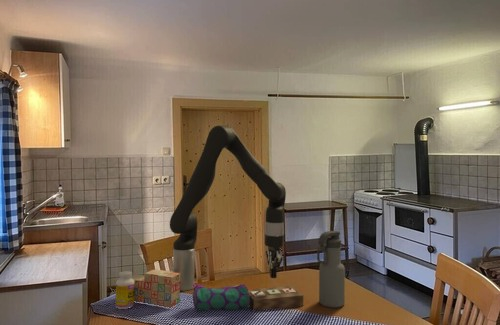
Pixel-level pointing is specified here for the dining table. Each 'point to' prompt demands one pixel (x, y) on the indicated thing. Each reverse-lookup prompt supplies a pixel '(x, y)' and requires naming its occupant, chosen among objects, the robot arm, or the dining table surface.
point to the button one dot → (273, 292)
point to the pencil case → (221, 298)
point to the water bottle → (331, 271)
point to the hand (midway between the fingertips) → (273, 277)
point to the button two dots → (288, 290)
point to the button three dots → (257, 293)
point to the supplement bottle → (125, 290)
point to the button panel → (275, 299)
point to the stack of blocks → (157, 288)
